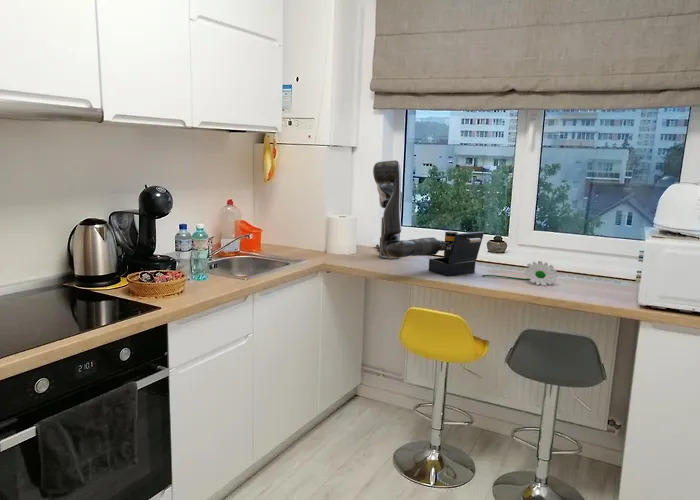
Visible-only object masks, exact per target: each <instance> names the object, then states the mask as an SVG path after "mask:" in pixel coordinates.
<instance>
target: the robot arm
mask: <svg viewBox="0 0 700 500" xmlns="http://www.w3.org/2000/svg"><path fill="white" fill-rule="evenodd" d="M401 173H402V172H401V165H400V162H399V161H398V160H395V159H394V160H393V159H392V160H381V161H377V162H376V163H375V164H374V165H373V168H372V177H373V179H374V182H375V184H376V190H377V192H378V201H379V206H380V208H382V209H384V211H383V215H382V216H381V222H380V223H381V224H380V225H381V226H380V237H379V244H376V245H375V248H377V252H378V256H379V257H380V258H381V259H387V260H395V259H400V258H407V257H426V256H427V257H428V256H435V255H437V254H438V253H439V252H444V250H447V251H451V250H452V247H453V243H449V242H445V240H441V239H437V238H436V237H420V238H412V239H407V240H405V239H404V240H401V233H402V220H401V219H402V218H401V216H402V215H401V214H402V205H403V204H402V203H403V193H402V190H401V189H402V174H401ZM446 244H447V246H446Z"/></svg>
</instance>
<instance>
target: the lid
mask: <svg viewBox="0 0 700 500" xmlns="http://www.w3.org/2000/svg"><path fill="white" fill-rule="evenodd" d="M484 235H485V232H484V231H473V232H462V233H458V234H456V235H455V239H454V243H453V247H452V250H451V254H450V258H449V262H448V263H449V264H450V263H459V262H468V261H475V262H476V261H477V259H478V256H479V252H480V248H481V246H482V245H481V244H482V241H483V238H484Z"/></svg>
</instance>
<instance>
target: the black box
mask: <svg viewBox="0 0 700 500" xmlns="http://www.w3.org/2000/svg"><path fill="white" fill-rule="evenodd" d="M428 271H429V272H432V273H436V274H438V275H441V276H445V277H455V276H462V275H470V274H475V273H476V272H475V271H476V261H468V262H459V263H450V264H449V263H448V262H444V256H443V257H434V258H429V260H428Z"/></svg>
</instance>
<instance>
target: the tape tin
mask: <svg viewBox="0 0 700 500" xmlns="http://www.w3.org/2000/svg"><path fill="white" fill-rule="evenodd" d="M456 234H459V232H457V231H449V230H447V231H445V232H444V241H445V242H449V243H454V239H455V235H456ZM446 246H447V244H446ZM450 254H451V251H447V250H443V257H444V262H449V258H450Z"/></svg>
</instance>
